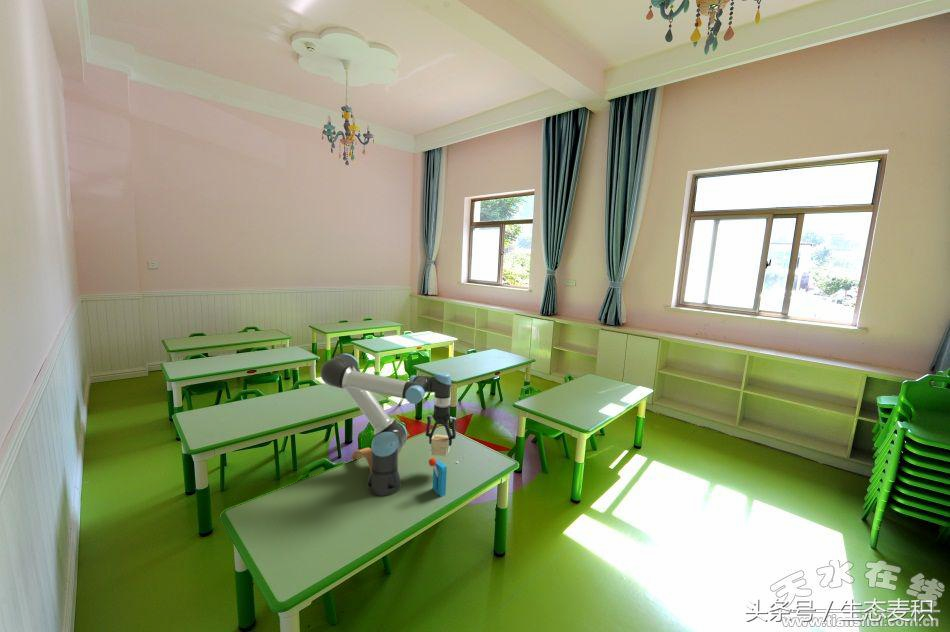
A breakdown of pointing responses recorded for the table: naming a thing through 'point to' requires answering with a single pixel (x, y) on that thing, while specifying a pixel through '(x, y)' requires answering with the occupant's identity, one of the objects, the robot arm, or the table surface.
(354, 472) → the table surface
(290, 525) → the table surface
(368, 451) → the arch
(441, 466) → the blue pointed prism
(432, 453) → the oak block
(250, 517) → the table surface
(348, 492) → the table surface
